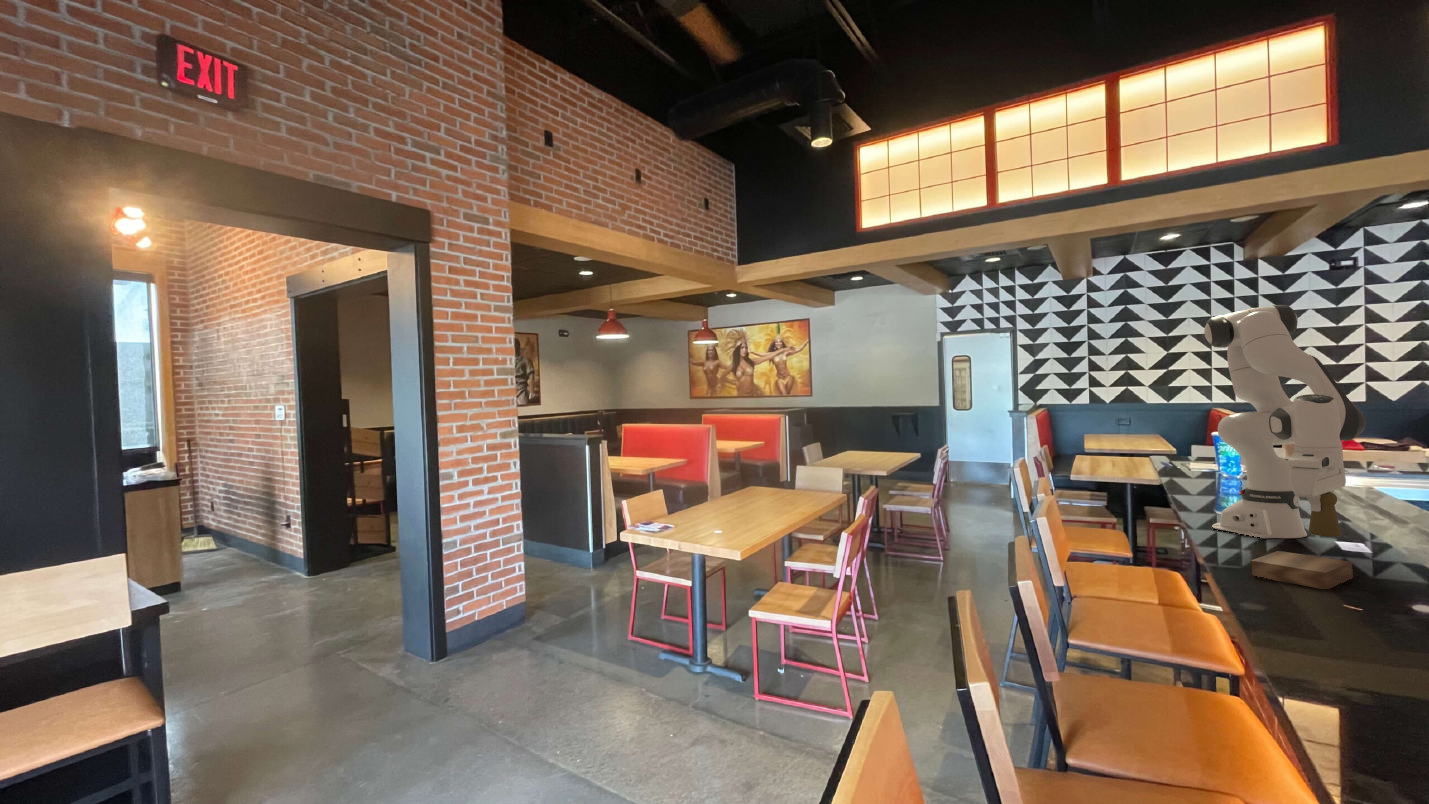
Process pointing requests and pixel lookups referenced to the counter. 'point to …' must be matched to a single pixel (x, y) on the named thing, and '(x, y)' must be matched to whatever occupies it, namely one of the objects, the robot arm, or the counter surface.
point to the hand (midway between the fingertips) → (1321, 509)
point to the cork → (1325, 518)
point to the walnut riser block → (1302, 569)
